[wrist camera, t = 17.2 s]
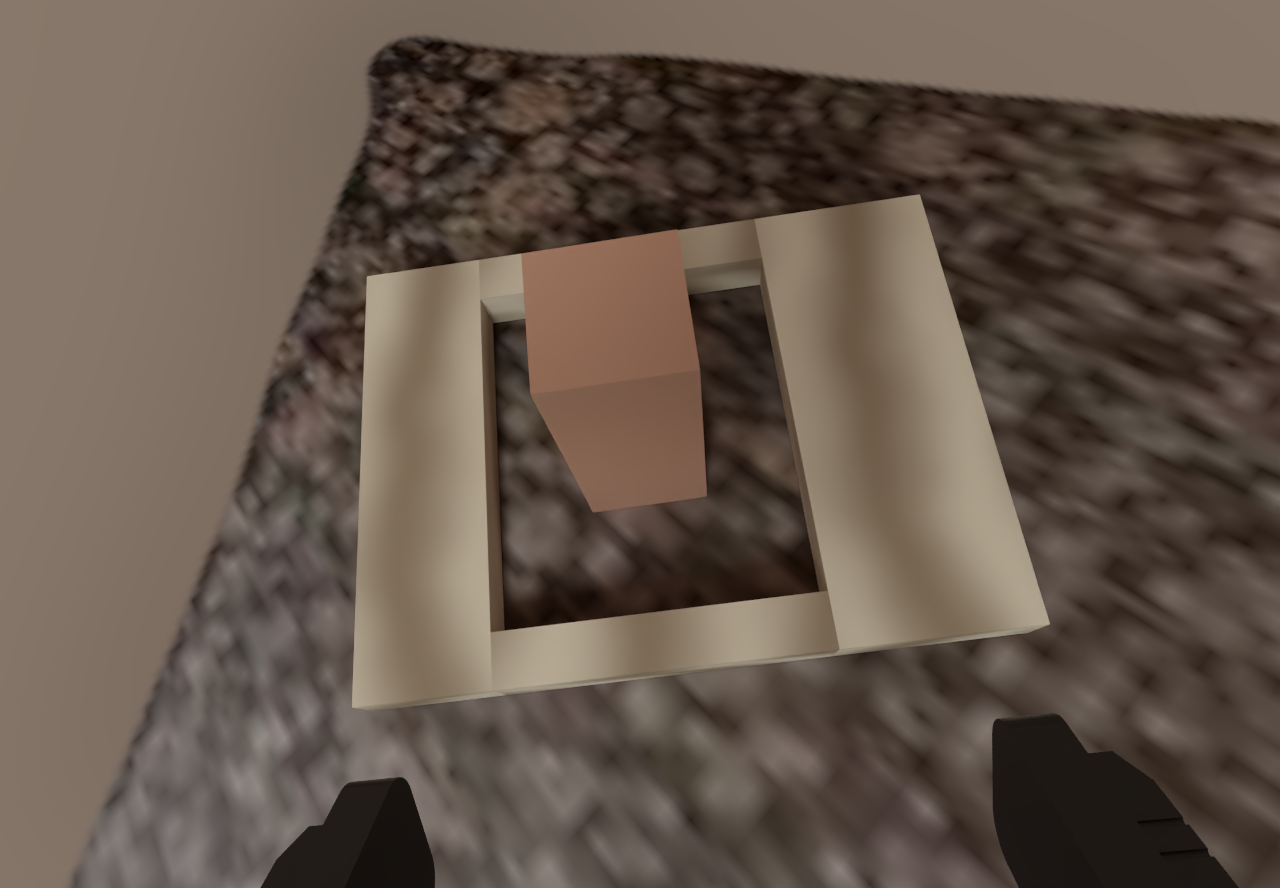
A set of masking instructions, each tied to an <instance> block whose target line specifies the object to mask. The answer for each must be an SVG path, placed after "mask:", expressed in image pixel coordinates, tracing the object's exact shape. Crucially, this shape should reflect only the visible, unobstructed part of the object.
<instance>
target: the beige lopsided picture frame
mask: <svg viewBox="0 0 1280 888" xmlns="http://www.w3.org/2000/svg"><path fill="white" fill-rule="evenodd" d="M678 236H679V242H680V248H681V254H682V261H683V267H684V273H685V279H686V285H687V292H688V295H692V294H699V293H706V292H713V291H719V290H726V289H733V288H740V287H747V286H754V285H760V288H761V293H762V299H763V304H764V309H765V314H766V319H767V324H768V329H769V335H770V340H771V345H772V350H773V355H774V360H775V366H776V371H777V376H778V381H779V386H780V391H781V397H782V402H783V407H784V412H785V417H786V422H787V427H788V433H789V438H790V443H791V448H792V453H793V458H794V464H795V469H796V474H797V479H798V484H799V489H800V494H801V500H802V505H803V510H804V515H805V520H806V525H807V531H808V536H809V541H810V546H811V551H812V556H813V562H814V567H815V572H816V577H817V582H818V587H819V592H814V593H805V594H797V595H789V596H781V597H773V598H765V599H757V600H749V601H741V602H733V603H725V604H716V605H708V606H700V607H692V608H684V609H676V610H668V611H660V612H652V613H644V614H635V615H627V616H619V617H611V618H603V619H595V620H587V621H579V622H571V623H563V624H555V625H546V626H538V627H530V628H522V629H514V630H506V631H505V629H504V602H503V576H502V549H501V523H500V496H499V470H498V443H497V417H496V390H495V364H494V337H493V323H498V322H504V321H511V320H518V319H525V304H524V289H523V274H522V259H521V254H515V255H509V256H502V257H495V258H488V259H482V260H475V261H468V262H461V263H455V264H448V265H441V266H434V267H428V268H421V269H414V270H408V271H401V272H394V273H387V274H381V275H374V276H367V293H366V322H365V351H364V379H363V408H362V437H361V466H360V494H359V523H358V552H357V580H356V609H355V638H354V667H353V695H352V708H359V709H367V710H375V711H376V710H385V709H393V708H401V707H410V706H418V705H427V704H435V703H443V702H452V701H460V700H468V699H477V698H485V697H494V696H502V695H510V694H519V693H527V692H536V691H544V690H552V689H561V688H569V687H577V686H586V685H594V684H603V683H611V682H619V681H628V680H636V679H645V678H653V677H661V676H670V675H678V674H687V673H695V672H703V671H712V670H720V669H728V668H737V667H745V666H754V665H762V664H770V663H779V662H787V661H796V660H804V659H812V658H821V657H829V656H837V655H846V654H854V653H863V652H871V651H879V650H888V649H896V648H905V647H913V646H921V645H930V644H938V643H947V642H955V641H963V640H972V639H980V638H988V637H997V636H1005V635H1014V634H1022V633H1029V632H1031V631H1034V630H1036V629H1039V628H1041V627H1044V626H1046V625H1049V624H1050V623H1049V620H1048V616H1047V613H1046V610H1045V606H1044V603H1043V600H1042V597H1041V593H1040V590H1039V587H1038V583H1037V580H1036V577H1035V573H1034V570H1033V567H1032V564H1031V560H1030V557H1029V554H1028V550H1027V547H1026V544H1025V540H1024V537H1023V534H1022V531H1021V527H1020V524H1019V521H1018V517H1017V514H1016V511H1015V507H1014V504H1013V501H1012V497H1011V494H1010V491H1009V488H1008V484H1007V481H1006V478H1005V474H1004V471H1003V468H1002V464H1001V461H1000V458H999V455H998V451H997V448H996V445H995V441H994V438H993V435H992V431H991V428H990V425H989V422H988V418H987V415H986V412H985V408H984V405H983V402H982V398H981V395H980V392H979V389H978V385H977V382H976V379H975V375H974V372H973V369H972V365H971V362H970V359H969V356H968V352H967V349H966V346H965V342H964V339H963V336H962V332H961V329H960V326H959V323H958V319H957V316H956V313H955V309H954V306H953V303H952V299H951V296H950V293H949V290H948V286H947V283H946V280H945V276H944V273H943V270H942V266H941V263H940V260H939V257H938V253H937V250H936V247H935V243H934V240H933V237H932V233H931V230H930V227H929V223H928V220H927V217H926V214H925V210H924V207H923V204H922V200H921V197H920V194H919V195H912V196H906V197H899V198H892V199H886V200H879V201H872V202H865V203H859V204H852V205H845V206H838V207H832V208H825V209H818V210H811V211H805V212H798V213H791V214H785V215H778V216H771V217H764V218H758V219H751V220H744V221H737V222H731V223H724V224H717V225H710V226H704V227H697V228H690V229H684V230H678Z"/></svg>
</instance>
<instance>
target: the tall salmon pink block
mask: <svg viewBox="0 0 1280 888" xmlns="http://www.w3.org/2000/svg"><path fill="white" fill-rule="evenodd" d="M521 259H522V274H523V289H524V304H525V319H526V334H527V349H528V365H529V380H530V395H531V396H532V398H533V400H534V402H535V404H536V406H537V408H538V410H539V412H540V413H541V415H542V417H543V419H544V421H545V423H546V425H547V427H548V429H549V430H550V432H551V434H552V436H553V438H554V440H555V442H556V444H557V445H558V447H559V449H560V451H561V453H562V455H563V457H564V459H565V461H566V462H567V464H568V466H569V468H570V470H571V472H572V474H573V476H574V478H575V479H576V481H577V483H578V485H579V487H580V489H581V491H582V493H583V495H584V496H585V498H586V500H587V502H588V504H589V506H590V508H591V510H592V511H593V512H600V511H607V510H615V509H622V508H629V507H636V506H643V505H651V504H658V503H665V502H672V501H679V500H687V499H694V498H701V497H707V486H706V467H705V449H704V431H703V413H702V395H701V377H700V366H699V360H698V353H697V347H696V341H695V335H694V329H693V323H692V316H691V310H690V304H689V298H688V292H687V285H686V279H685V273H684V267H683V261H682V254H681V248H680V242H679V236H678V230H677V229H676V230H670V231H663V232H657V233H650V234H644V235H638V236H631V237H625V238H618V239H612V240H606V241H599V242H593V243H586V244H580V245H573V246H567V247H561V248H554V249H548V250H541V251H535V252H528V253H522V254H521Z"/></svg>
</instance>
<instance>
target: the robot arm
mask: <svg viewBox="0 0 1280 888" xmlns="http://www.w3.org/2000/svg"><path fill="white" fill-rule="evenodd" d="M992 759H993V815H994V822H995V827H996V832H997V836H998V839H999V843H1000V846H1001V849H1002V852H1003V854H1004V857H1005V860H1006V862H1007V864H1008V866H1009V868H1010V870H1011V872H1012V874H1013V876H1014V878H1015V881H1016V883H1017V885H1018V887H1019V888H1239V887H1238V886H1237V885H1236V884H1235V882H1234V881H1233V880H1232V879H1231V877H1230V876H1229V875H1228V874H1227V872H1226V871H1225V870H1224V868H1223V867H1222V866H1221V865H1220V863H1219V862H1218V861H1217V860H1216V858H1215V857H1211V856H1210V855H1209V853H1208V848H1207V847H1206V846H1205V844H1204V843H1203V842H1202V841H1201V839H1200V838H1199V837H1198V836H1197V834H1196V833H1195V832H1194V831H1193V829H1192V828H1191V827H1190V826H1189V825H1186V824H1185V823H1184V821H1183V817H1182V815H1181V814H1180V813H1179V812H1178V810H1177V809H1176V808H1175V807H1174V805H1173V804H1172V803H1171V801H1170V800H1169V799H1168V798H1167V796H1166V795H1165V794H1164V793H1163V791H1162V790H1161V789H1160V788H1159V786H1158V785H1157V784H1156V783H1155V781H1154V780H1152V779H1151V778H1150V777H1148V776H1147V775H1145V774H1144V773H1143V772H1141V771H1140V770H1138V769H1137V768H1135V767H1134V766H1133V765H1131V764H1130V763H1128V762H1127V761H1125V760H1124V759H1123V758H1121V757H1120V756H1118V755H1117V754H1115V753H1114V752H1113V751H1109V752H1099V753H1087V751H1086V750H1085V749H1084V747H1083V746H1082V744H1081V743H1080V742H1079V740H1078V739H1077V737H1076V736H1075V735H1074V733H1073V732H1072V730H1071V729H1070V728H1069V726H1068V725H1067V723H1066V722H1065V721H1064V720H1063V718H1062V717H1060V716H1059V715H1058V714H1055V713H1050V714H1040V715H1030V716H1020V717H1010V718H1001V719H996V720H995V721H994V724H993V729H992ZM261 888H435V869H434V862H433V857H432V854H431V851H430V848H429V845H428V841H427V838H426V835H425V832H424V829H423V826H422V823H421V819H420V816H419V813H418V810H417V807H416V804H415V801H414V798H413V794H412V791H411V788H410V786H409V784H408V782H407V781H406V780H405V779H404V778H402V777H397V778H387V779H377V780H368V781H358V782H350V783H348V784H347V785H345V786H344V788H343V789H342V790H341V792H340V794H339V795H338V797H337V799H336V801H335V803H334V805H333V807H332V809H331V811H330V813H329V814H328V816H327V818H326V820H325V822H324V824H323V825H319V826H309V827H308V828H307V829H306V830H305V831H304V832H303V833H302V834H301V835H300V836H299V837H298V838H297V839H296V840H295V841H294V842H293V843H292V844H291V845H290V846H289V847H288V848H287V849H286V851H285V852H284V853H283V854H282V855H281V856H280V857H279V858H278V859H277V860H276V862H275V863H274V865H273V867H272V869H271V870H270V872H269V874H268V876H267V877H266V879H265V881H264V883H263V885H262V886H261Z"/></svg>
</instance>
